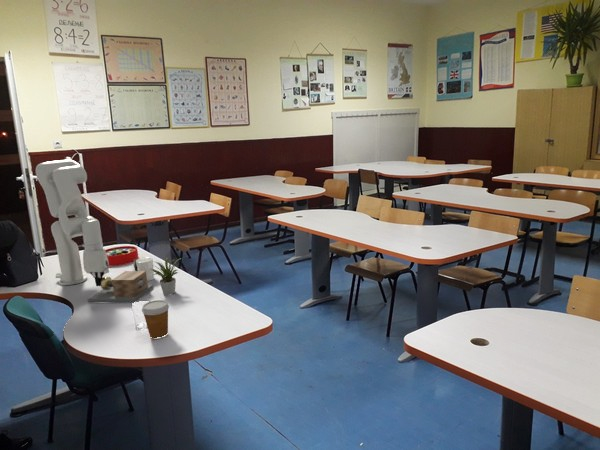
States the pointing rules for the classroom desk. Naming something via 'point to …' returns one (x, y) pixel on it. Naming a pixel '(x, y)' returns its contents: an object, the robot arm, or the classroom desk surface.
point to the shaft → (107, 284)
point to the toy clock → (121, 255)
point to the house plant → (167, 277)
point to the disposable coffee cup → (156, 317)
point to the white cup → (146, 267)
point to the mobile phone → (135, 264)
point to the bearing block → (129, 284)
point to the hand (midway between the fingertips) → (99, 285)
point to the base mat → (109, 297)
